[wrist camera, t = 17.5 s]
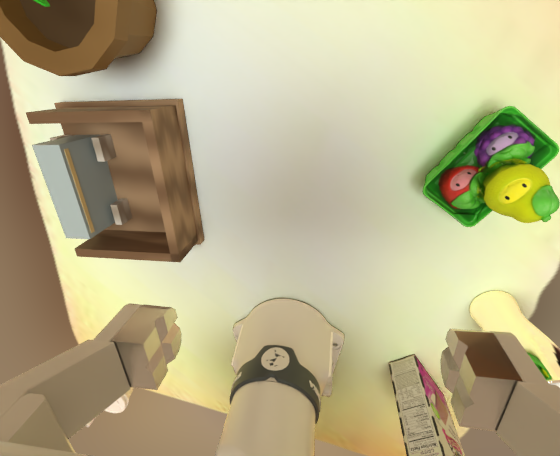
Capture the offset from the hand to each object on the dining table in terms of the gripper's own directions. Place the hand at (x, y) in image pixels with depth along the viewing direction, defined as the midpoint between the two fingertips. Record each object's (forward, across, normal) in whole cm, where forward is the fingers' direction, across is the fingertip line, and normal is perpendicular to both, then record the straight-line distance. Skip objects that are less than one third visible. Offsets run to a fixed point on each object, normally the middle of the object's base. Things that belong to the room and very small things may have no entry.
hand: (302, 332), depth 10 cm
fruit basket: (+33, -17, +3) cm, 38 cm away
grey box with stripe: (+32, +32, +5) cm, 45 cm away
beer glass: (+33, -24, +24) cm, 48 cm away
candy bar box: (+33, -16, +40) cm, 55 cm away
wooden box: (+33, +27, +5) cm, 43 cm away
